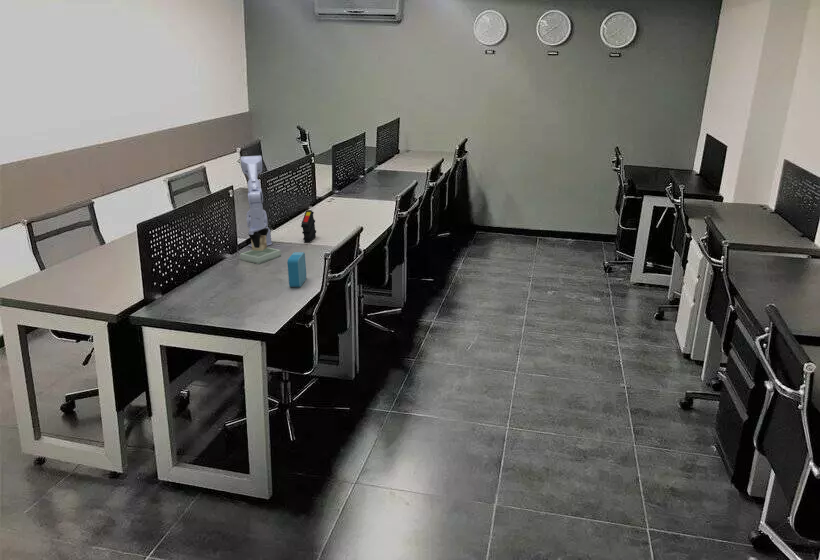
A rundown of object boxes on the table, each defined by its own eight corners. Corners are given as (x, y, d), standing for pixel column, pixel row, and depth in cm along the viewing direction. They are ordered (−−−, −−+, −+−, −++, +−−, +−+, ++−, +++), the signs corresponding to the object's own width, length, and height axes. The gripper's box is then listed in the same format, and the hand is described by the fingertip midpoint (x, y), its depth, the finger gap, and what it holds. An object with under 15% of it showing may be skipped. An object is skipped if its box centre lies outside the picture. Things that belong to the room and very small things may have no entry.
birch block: (257, 247, 310) (256, 234, 308) (267, 247, 309) (265, 235, 307) (252, 250, 306) (250, 237, 304) (262, 250, 305) (260, 238, 303)
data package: (296, 278, 281) (294, 251, 277) (306, 278, 281) (304, 251, 277) (289, 288, 270) (287, 259, 266) (300, 288, 270) (298, 260, 266)
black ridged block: (318, 232, 344) (313, 209, 333) (312, 249, 335) (307, 226, 324) (311, 232, 344) (305, 209, 334) (305, 249, 335) (299, 226, 325)
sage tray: (263, 252, 318) (262, 246, 317) (281, 256, 311) (280, 250, 310) (240, 259, 307) (240, 253, 306) (258, 264, 300) (258, 257, 299)
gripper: (256, 213, 310) (259, 241, 314) (241, 220, 297) (244, 249, 301) (270, 213, 308) (273, 241, 313) (255, 221, 295) (258, 250, 299)
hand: (259, 245), depth 307 cm, fingers closed on birch block, 5 cm apart
